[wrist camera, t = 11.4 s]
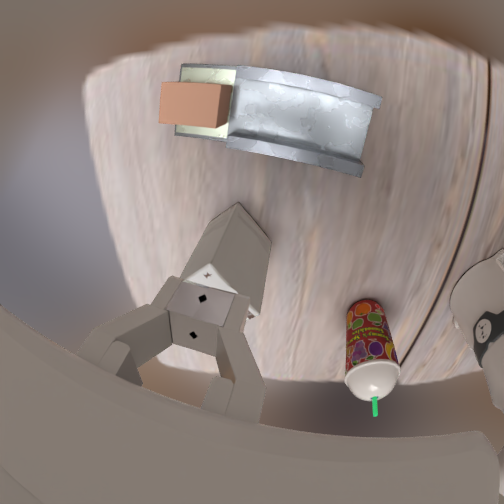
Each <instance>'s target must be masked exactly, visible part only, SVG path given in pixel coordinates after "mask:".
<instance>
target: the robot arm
mask: <svg viewBox="0 0 504 504" xmlns="http://www.w3.org/2000/svg"><path fill="white" fill-rule="evenodd" d="M250 298H251V297H249V296H245V295H241V294H236V293H233V292H229V291H225V290H221V289H217V288H213V287H208V286H205V285H202V284H198V283H195V282H192V281H188V280H185V279H181V278H178V277H175V276H171V277H169V278H168V279H167V281H166V282H165V284H164V285H163V287H162V288H161V290H160V291H159V293H158V294H157V296H156V297H155V299H154V300H153V302H152V303H151V305H149V304H145V305H143V306H141V307H139V308H137V309H135V310H132V311H130V312H129V313H126V314H124V315H122V316H120V317H117V318H115V319H113V320H111V321H109V322H107V323H104V324H102V325H100V326H98V327H96V328H94V329H93V330H92V332H91V333H90V334H89V336H88V337H87V339H86V340H85V342H84V343H83V344H82V346H81V347H80V349H79V350H78V352H77V353H76V354H73V353H71V352H70V351H68V350H66V349H65V348H63V347H61V346H60V345H58V344H56V343H55V342H53V341H52V340H50V339H48V338H47V337H45V336H43V335H42V334H40V333H39V332H38V331H36V330H35V329H33V328H31V327H30V326H29V325H27V324H26V323H24V322H23V321H22V320H20V319H19V318H17V317H16V316H15V315H13V314H12V313H11V312H9V311H8V310H7V309H6V308H4V307H3V306H2V305H1V304H0V504H498V500H499V493H500V494H502V495H503V496H504V446H503V447H502V449H501V451H500V452H499V454H498V455H497V453H496V451H495V450H494V448H493V446H492V445H491V443H490V442H489V441H488V439H487V438H486V437H485V435H484V434H483V433H482V432H480V431H470V432H463V433H456V434H448V435H438V436H427V437H407V438H369V437H366V438H365V437H349V436H336V435H326V434H317V433H309V432H302V431H295V430H289V429H283V428H278V427H272V426H267V425H262V424H258V423H259V419H260V415H261V410H262V406H263V402H264V397H265V392H266V385H265V383H264V381H263V378H262V376H261V374H260V371H259V369H258V367H257V364H256V362H255V359H254V357H253V355H252V352H251V350H250V347H249V345H248V342H247V340H246V338H245V335H244V333H243V331H244V327H245V323H246V319H247V314H248V309H249V304H250ZM450 308H451V311H452V313H453V315H454V319H453V324H454V326H455V328H460V330H461V332H462V334H463V336H464V338H465V340H466V342H467V344H468V346H469V348H470V349H473V350H474V352H475V357H476V360H477V361H478V363H479V366H480V367H481V368H483V371H484V374H485V377H486V380H487V384H488V387H489V390H490V394H491V398H492V402H493V404H494V406H495V407H497V408H499V409H501V411H502V412H503V413H504V249H502V250H500V251H499V252H497V253H496V254H495V255H494V256H493V257H491V258H489V259H487V260H484V261H482V262H480V263H478V264H476V265H475V266H473V267H472V268H471V269H470V270H468V271H467V272H466V273H465V274H464V275H463V277H462V278H461V279H460V280H459V282H458V283H457V285H456V286H455V288H454V290H453V292H452V295H451V299H450ZM172 343H173V344H176V345H180V346H183V347H186V348H190V349H193V350H196V351H199V352H202V353H205V354H208V355H211V356H215V357H216V361H217V365H218V368H219V372H220V376H221V377H219V376H216V377H214V378H212V380H211V382H210V385H209V388H208V390H207V393H206V396H205V398H204V401H203V403H202V406H201V408H197V407H195V406H191V405H188V404H185V403H182V402H179V401H177V400H174V399H171V398H168V397H165V396H163V395H160V394H158V393H155V392H153V391H150V390H148V389H145V388H143V387H141V386H142V384H143V382H142V380H141V377H140V375H139V372H138V369H137V368H138V367H140V366H141V365H143V364H144V363H146V362H147V361H149V360H150V359H152V358H153V357H155V356H156V355H158V354H159V353H161V352H162V351H163V350H165V349H166V348H168V347H169V346H171V345H172Z"/></svg>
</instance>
